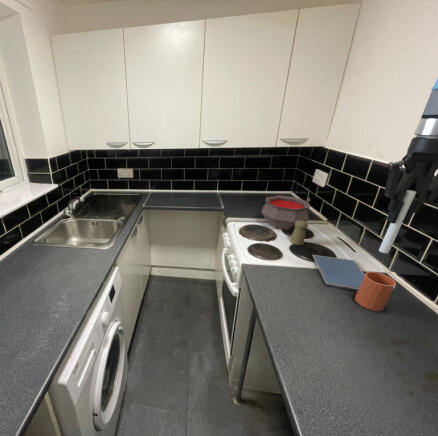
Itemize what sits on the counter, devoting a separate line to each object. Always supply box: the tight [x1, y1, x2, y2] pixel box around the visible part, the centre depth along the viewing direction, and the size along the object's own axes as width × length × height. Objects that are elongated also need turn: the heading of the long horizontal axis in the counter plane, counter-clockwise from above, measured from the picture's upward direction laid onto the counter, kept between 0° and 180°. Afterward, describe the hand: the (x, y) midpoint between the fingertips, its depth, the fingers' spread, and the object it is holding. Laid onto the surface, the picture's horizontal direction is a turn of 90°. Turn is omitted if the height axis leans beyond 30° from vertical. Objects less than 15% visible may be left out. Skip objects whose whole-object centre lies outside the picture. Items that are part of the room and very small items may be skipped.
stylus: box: [378, 189, 416, 255], centre depth 67 cm, size 2×2×20 cm
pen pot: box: [354, 271, 397, 312], centre depth 73 cm, size 7×7×10 cm
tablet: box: [311, 254, 365, 292], centre depth 89 cm, size 15×20×1 cm
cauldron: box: [261, 194, 311, 231], centre depth 126 cm, size 24×24×16 cm
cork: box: [289, 220, 309, 246], centre depth 110 cm, size 6×6×11 cm
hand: (396, 221), depth 67 cm, fingers closed on stylus, 2 cm apart
